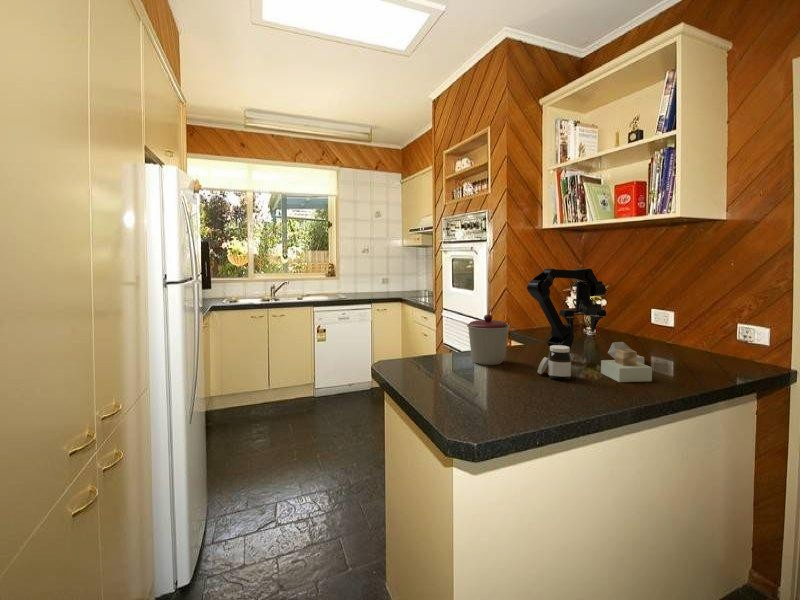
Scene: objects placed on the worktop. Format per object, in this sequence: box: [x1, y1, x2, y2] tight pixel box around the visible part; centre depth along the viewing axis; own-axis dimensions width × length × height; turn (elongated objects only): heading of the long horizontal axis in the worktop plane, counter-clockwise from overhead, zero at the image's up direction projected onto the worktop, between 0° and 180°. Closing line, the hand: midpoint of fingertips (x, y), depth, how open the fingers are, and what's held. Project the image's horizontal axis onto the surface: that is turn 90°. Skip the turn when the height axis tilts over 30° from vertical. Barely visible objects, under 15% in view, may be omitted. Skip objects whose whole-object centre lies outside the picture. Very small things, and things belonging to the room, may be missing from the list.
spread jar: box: [537, 345, 572, 381], centre depth 149 cm, size 12×11×12 cm
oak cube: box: [614, 348, 638, 366], centre depth 147 cm, size 5×5×5 cm
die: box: [607, 341, 633, 360], centre depth 173 cm, size 8×9×10 cm
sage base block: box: [600, 359, 653, 383], centre depth 148 cm, size 12×12×5 cm
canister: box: [466, 314, 511, 366], centre depth 171 cm, size 18×18×21 cm
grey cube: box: [637, 354, 645, 365], centre depth 160 cm, size 5×5×5 cm
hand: (582, 332), depth 176 cm, fingers open, 9 cm apart
